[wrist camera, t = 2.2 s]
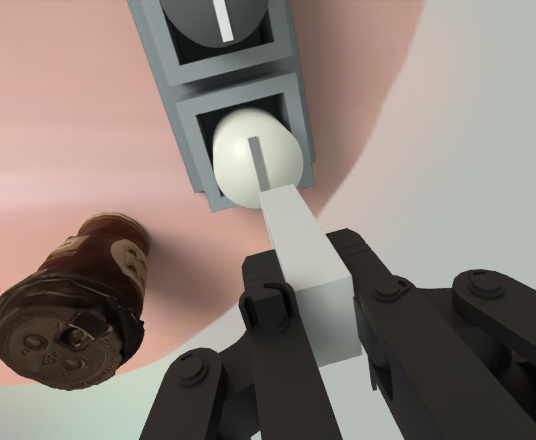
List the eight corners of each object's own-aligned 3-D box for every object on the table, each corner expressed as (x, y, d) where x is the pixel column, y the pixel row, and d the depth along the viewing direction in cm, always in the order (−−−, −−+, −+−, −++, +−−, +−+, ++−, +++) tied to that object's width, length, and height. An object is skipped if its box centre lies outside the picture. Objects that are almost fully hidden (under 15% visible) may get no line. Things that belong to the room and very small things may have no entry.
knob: (203, 116, 24) (201, 135, 18) (275, 97, 24) (295, 110, 18) (224, 184, 26) (228, 219, 21) (289, 166, 26) (310, 196, 21)
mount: (43, -243, 19) (-20, -355, 13) (240, -285, 19) (251, -410, 14) (195, 189, 31) (192, 217, 25) (313, 158, 31) (334, 179, 26)
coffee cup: (157, 198, 30) (126, 288, 19) (170, 275, 34) (150, 390, 23) (52, 204, 29) (-50, 304, 18) (76, 283, 33) (5, 409, 21)
